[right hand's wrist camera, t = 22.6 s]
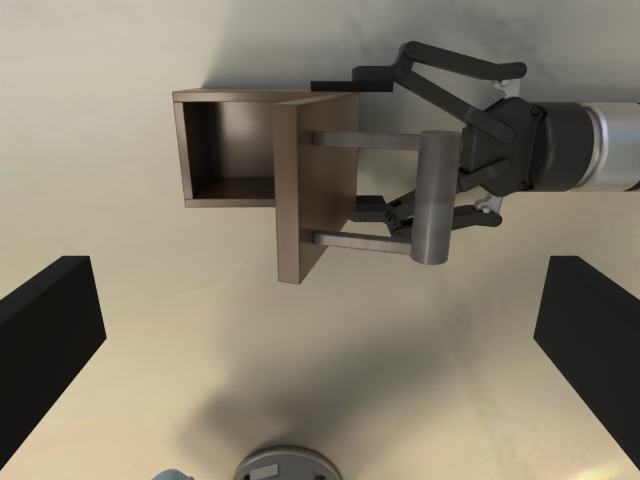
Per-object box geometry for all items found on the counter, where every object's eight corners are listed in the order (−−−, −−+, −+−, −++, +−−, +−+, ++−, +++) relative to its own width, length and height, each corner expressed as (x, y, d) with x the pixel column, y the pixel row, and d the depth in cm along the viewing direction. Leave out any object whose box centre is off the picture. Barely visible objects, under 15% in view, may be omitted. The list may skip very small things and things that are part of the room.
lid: (277, 281, 24) (443, 305, 21) (271, 104, 20) (466, 108, 18) (341, 208, 36) (449, 218, 34) (343, 92, 33) (463, 93, 31)
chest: (208, 183, 45) (185, 207, 37) (199, 87, 41) (171, 91, 33) (341, 182, 45) (347, 207, 37) (343, 88, 42) (350, 91, 33)
